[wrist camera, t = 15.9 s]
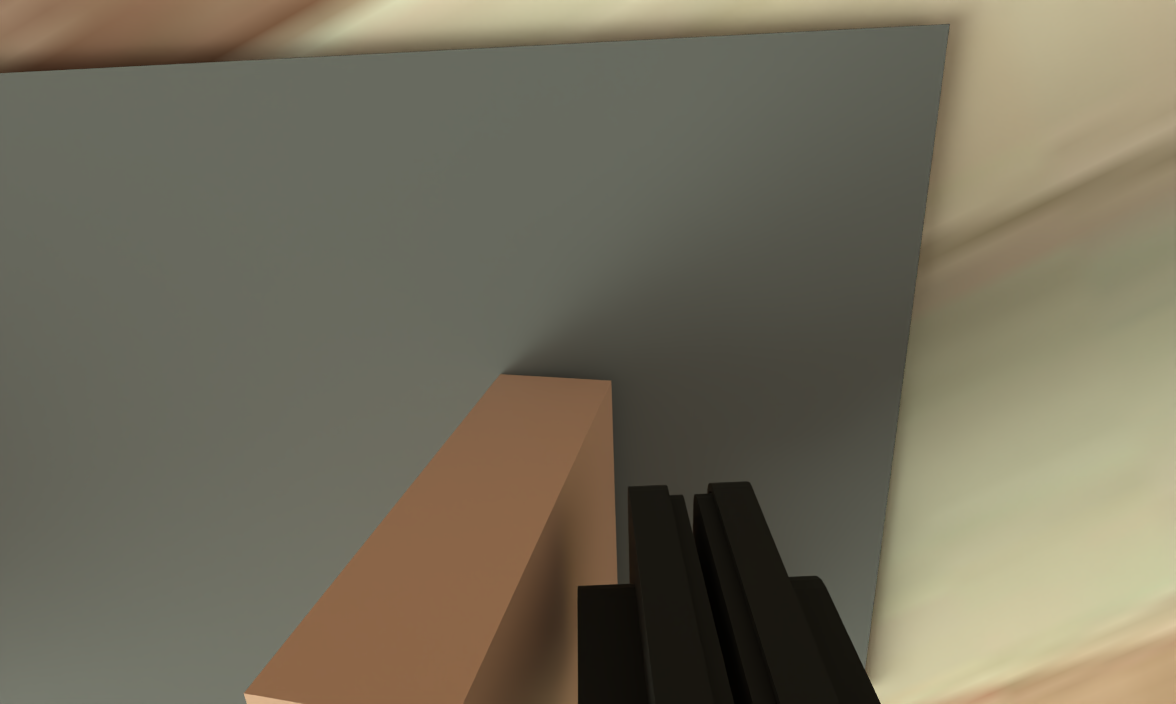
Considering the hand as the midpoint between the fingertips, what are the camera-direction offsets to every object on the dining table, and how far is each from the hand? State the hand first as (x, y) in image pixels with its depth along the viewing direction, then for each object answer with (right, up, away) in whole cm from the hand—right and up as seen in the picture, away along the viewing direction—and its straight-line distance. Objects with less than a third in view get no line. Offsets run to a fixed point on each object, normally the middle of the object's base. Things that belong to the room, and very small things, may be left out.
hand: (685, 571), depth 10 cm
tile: (-2, -1, +4) cm, 4 cm away
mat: (-6, +1, +4) cm, 7 cm away
